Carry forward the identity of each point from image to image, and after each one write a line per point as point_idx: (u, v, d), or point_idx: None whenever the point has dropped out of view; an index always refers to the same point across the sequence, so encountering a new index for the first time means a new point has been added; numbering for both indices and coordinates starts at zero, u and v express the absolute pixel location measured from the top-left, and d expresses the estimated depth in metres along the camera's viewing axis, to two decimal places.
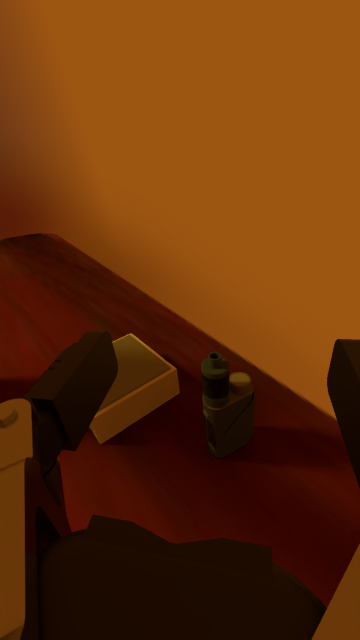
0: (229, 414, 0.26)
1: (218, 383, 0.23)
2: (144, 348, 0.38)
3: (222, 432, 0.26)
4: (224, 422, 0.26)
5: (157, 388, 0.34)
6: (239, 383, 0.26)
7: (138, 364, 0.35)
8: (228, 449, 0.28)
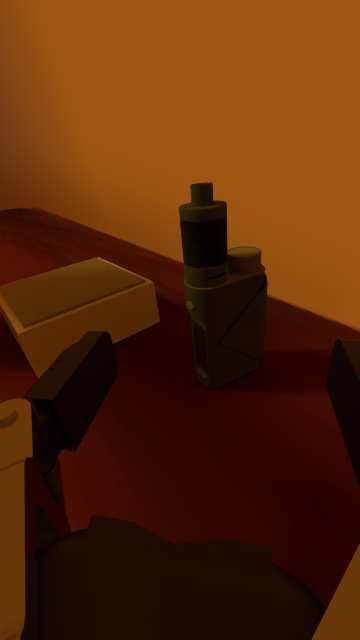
0: (227, 304, 0.16)
1: (208, 232, 0.14)
2: (112, 266, 0.28)
3: (217, 338, 0.17)
4: (219, 319, 0.16)
5: (126, 307, 0.24)
6: (243, 254, 0.16)
7: (101, 279, 0.26)
8: (227, 374, 0.18)
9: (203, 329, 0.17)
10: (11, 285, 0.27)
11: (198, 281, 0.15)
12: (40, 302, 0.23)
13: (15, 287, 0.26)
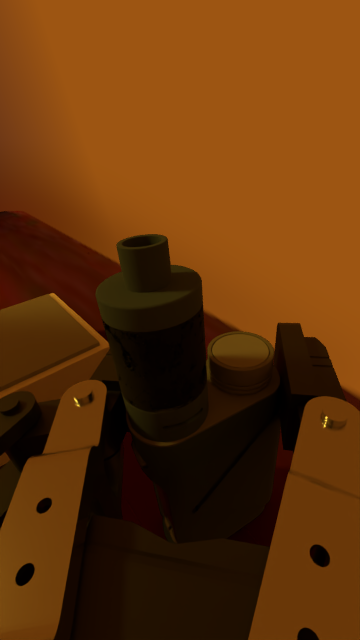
0: (207, 456, 0.08)
1: (158, 350, 0.06)
2: (63, 312, 0.21)
3: (190, 507, 0.09)
4: (194, 480, 0.08)
5: (69, 385, 0.16)
6: (239, 360, 0.08)
7: (39, 338, 0.18)
8: (212, 539, 0.11)
9: (165, 491, 0.09)
10: None
11: (146, 430, 0.07)
12: None
13: None
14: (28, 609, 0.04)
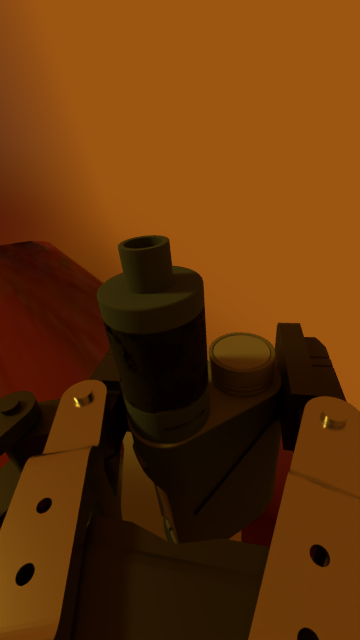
0: (209, 458, 0.08)
1: (159, 352, 0.06)
2: None
3: (191, 508, 0.09)
4: (195, 482, 0.08)
5: None
6: (241, 361, 0.08)
7: None
8: None
9: (166, 492, 0.09)
10: None
11: (147, 432, 0.07)
12: None
13: None
14: (28, 610, 0.04)
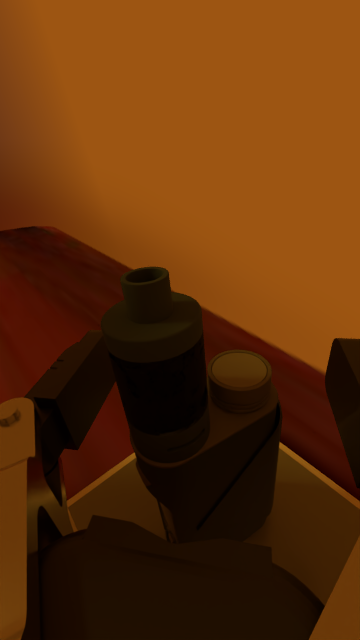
0: (210, 474, 0.09)
1: (161, 378, 0.06)
2: None
3: (194, 523, 0.09)
4: (197, 498, 0.09)
5: None
6: (238, 380, 0.09)
7: (281, 510, 0.13)
8: None
9: (169, 508, 0.09)
10: (96, 505, 0.14)
11: (150, 452, 0.07)
12: None
13: None
14: None
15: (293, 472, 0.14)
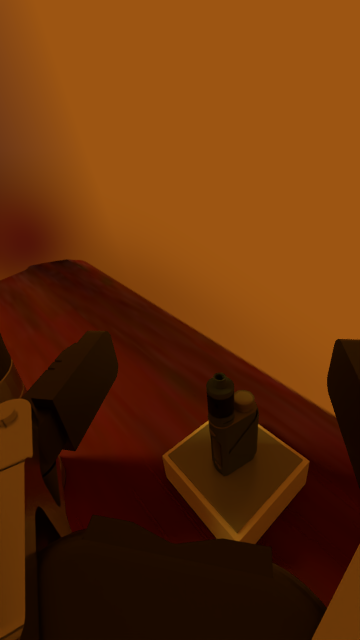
0: (234, 432, 0.26)
1: (224, 403, 0.24)
2: None
3: (228, 450, 0.27)
4: (230, 440, 0.26)
5: (291, 487, 0.29)
6: (243, 401, 0.26)
7: (261, 453, 0.31)
8: (234, 466, 0.29)
9: (219, 445, 0.27)
10: (180, 453, 0.32)
11: (217, 424, 0.25)
12: (228, 491, 0.28)
13: (186, 458, 0.31)
14: None
15: (267, 439, 0.32)
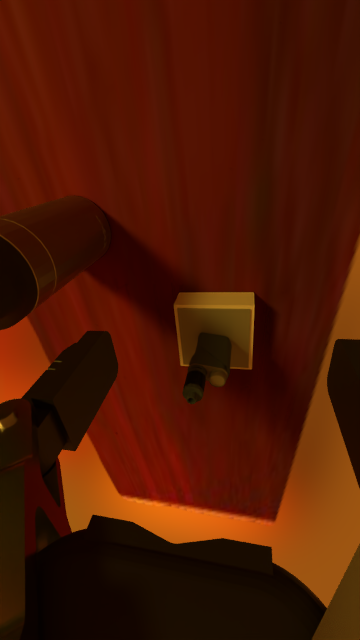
0: None
1: None
2: (247, 337, 0.40)
3: None
4: None
5: None
6: (214, 382, 0.35)
7: (231, 349, 0.42)
8: None
9: None
10: (185, 314, 0.40)
11: None
12: (194, 350, 0.43)
13: (186, 319, 0.41)
14: None
15: (244, 346, 0.41)
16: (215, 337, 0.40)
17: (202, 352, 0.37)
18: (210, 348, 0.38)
